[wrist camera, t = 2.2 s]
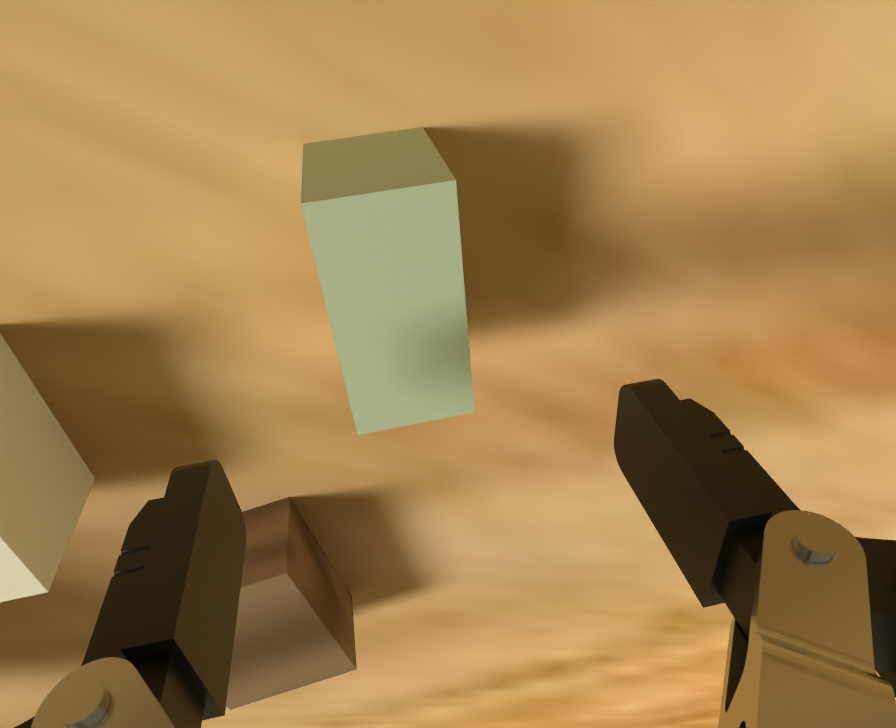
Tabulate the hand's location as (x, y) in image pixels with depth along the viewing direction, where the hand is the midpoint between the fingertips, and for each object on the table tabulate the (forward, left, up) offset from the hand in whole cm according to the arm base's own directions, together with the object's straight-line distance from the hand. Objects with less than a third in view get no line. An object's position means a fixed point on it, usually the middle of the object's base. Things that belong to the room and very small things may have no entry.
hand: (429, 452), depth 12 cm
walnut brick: (+15, -8, -10) cm, 19 cm away
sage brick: (0, 0, -10) cm, 10 cm away
